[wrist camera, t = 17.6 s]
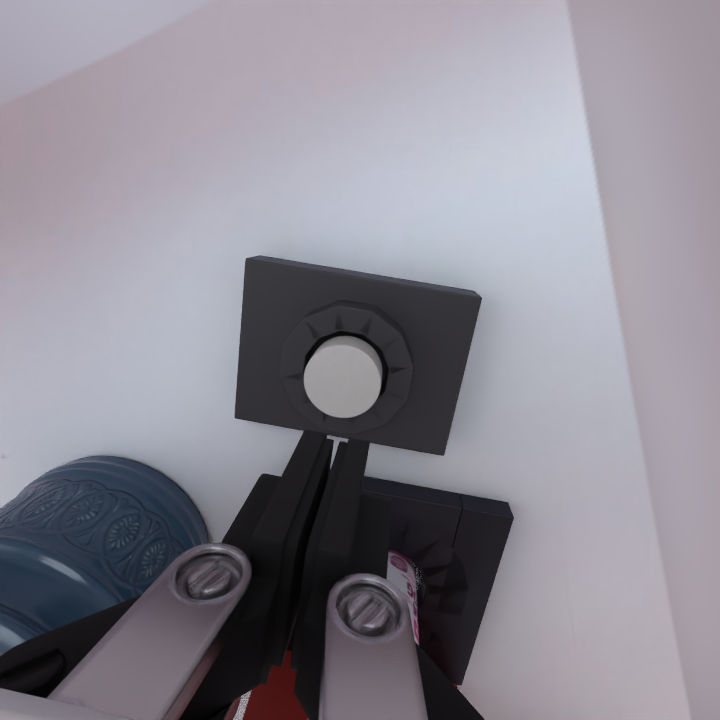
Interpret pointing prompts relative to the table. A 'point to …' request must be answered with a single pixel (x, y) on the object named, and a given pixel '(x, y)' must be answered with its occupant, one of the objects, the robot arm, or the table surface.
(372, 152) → the table surface
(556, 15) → the table surface
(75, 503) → the canister
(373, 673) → the robot arm
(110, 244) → the table surface
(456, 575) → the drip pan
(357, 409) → the button
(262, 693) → the red box with knob
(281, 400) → the control block
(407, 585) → the pill bottle
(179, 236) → the table surface
